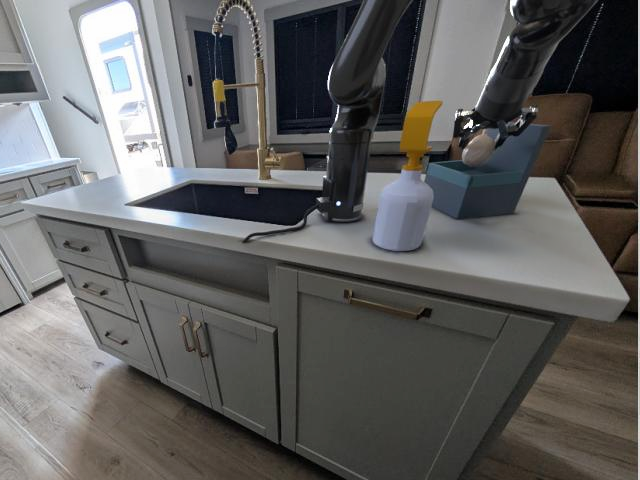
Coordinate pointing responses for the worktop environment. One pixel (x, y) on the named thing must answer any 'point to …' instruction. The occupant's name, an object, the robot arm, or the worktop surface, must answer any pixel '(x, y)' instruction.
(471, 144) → the garlic bulb
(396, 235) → the soap bottle
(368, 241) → the worktop surface
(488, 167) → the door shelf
